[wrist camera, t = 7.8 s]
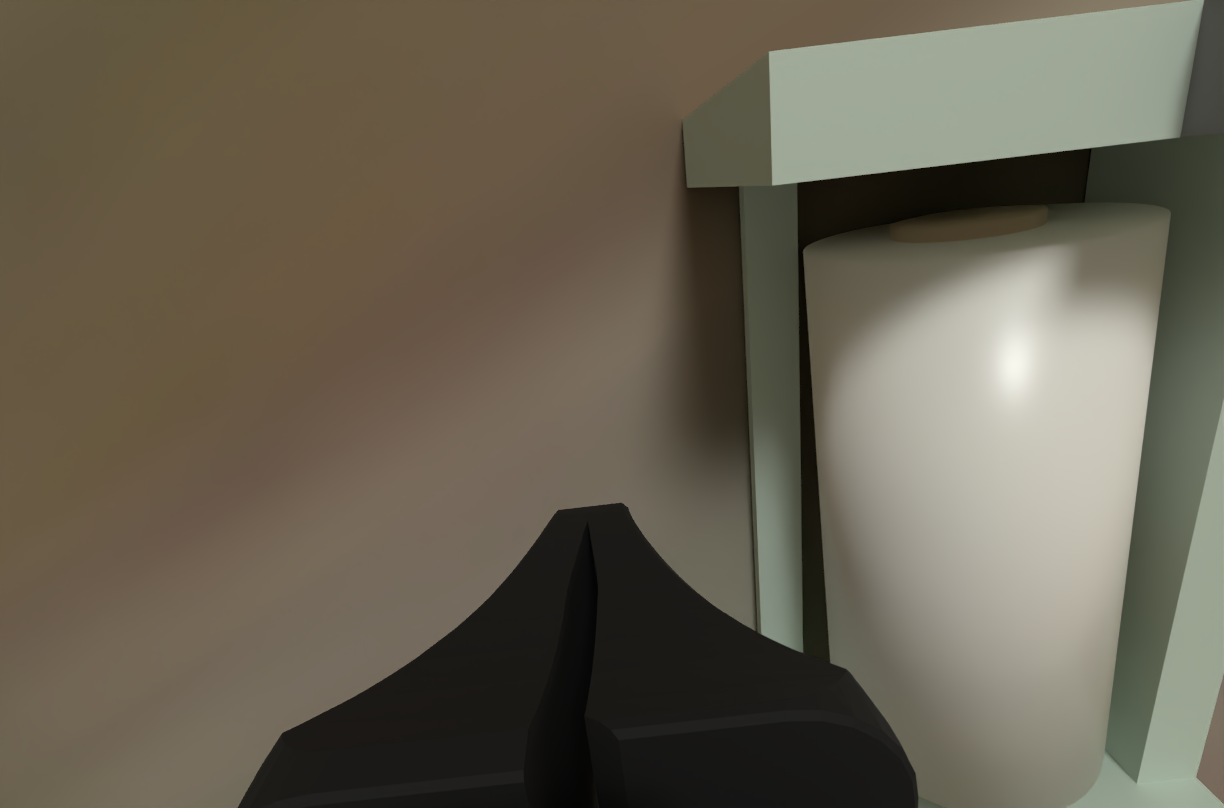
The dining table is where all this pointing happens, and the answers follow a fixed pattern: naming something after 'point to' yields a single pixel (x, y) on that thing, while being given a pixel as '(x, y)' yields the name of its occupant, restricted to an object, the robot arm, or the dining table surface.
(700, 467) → the dining table surface
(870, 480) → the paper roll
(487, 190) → the dining table surface
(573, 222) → the dining table surface
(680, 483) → the dining table surface
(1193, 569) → the roll cradle
